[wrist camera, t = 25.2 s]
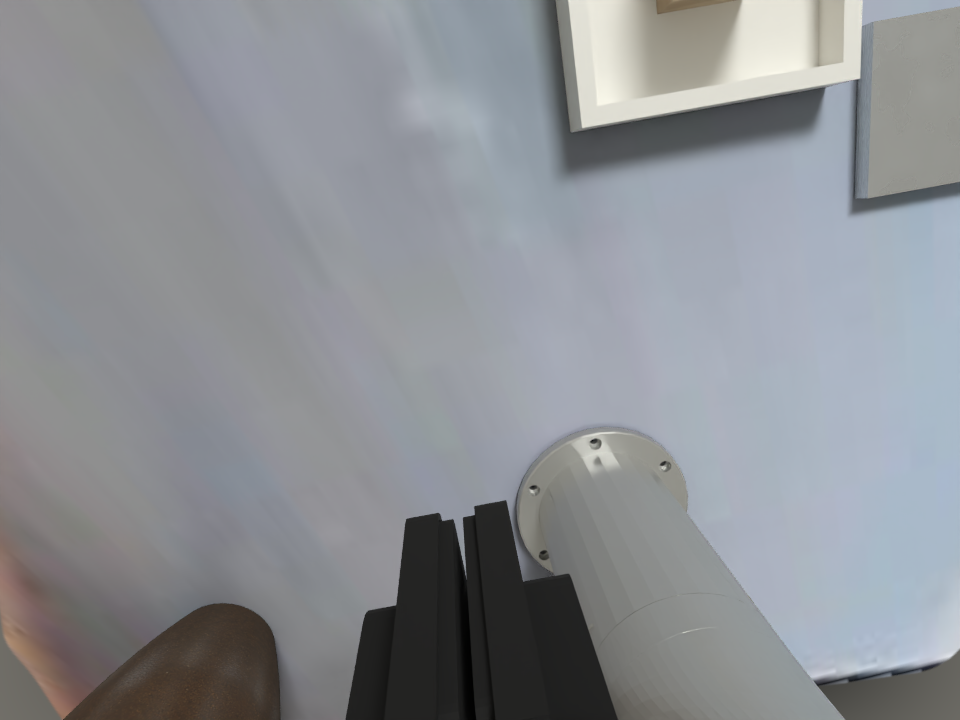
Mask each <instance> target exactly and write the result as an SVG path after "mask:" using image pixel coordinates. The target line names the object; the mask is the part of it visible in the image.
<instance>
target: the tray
mask: <svg viewBox="0 0 960 720" xmlns="http://www.w3.org/2000/svg"><path fill="white" fill-rule="evenodd" d="M556 9H557V17H558V26H559V35H560V44H561V53H562V61H563V70H564V79H565V88H566V96H567V105H568V114H569V123H570V132H571V133H572V132H578V131H583V130H589V129H595V128H600V127H606V126H612V125H617V124H623V123H628V122H634V121H640V120H645V119H651V118H656V117H662V116H668V115H673V114H679V113H684V112H690V111H696V110H701V109H707V108H712V107H718V106H724V105H729V104H735V103H740V102H746V101H752V100H757V99H763V98H769V97H774V96H780V95H785V94H791V93H797V92H802V91H808V90H813V89H819V88H825V87H829V86H833V85H837V84H841V83H845V82H849V81H852V80H856V79H860V69H861V34H862V0H736V1H731V2H725V3H719V4H713V5H708V6H702V7H696V8H690V9H685V10H679V11H673V12H668V13H662V14H657V7H656V0H556Z"/></svg>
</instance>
